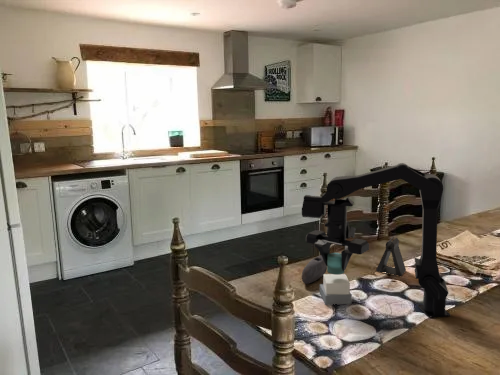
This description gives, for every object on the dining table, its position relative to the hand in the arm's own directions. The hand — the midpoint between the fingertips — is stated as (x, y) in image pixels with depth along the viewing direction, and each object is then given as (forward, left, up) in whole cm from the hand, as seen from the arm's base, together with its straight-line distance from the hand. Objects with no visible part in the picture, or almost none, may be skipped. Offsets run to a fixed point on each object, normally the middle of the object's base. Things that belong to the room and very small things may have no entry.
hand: (335, 268), depth 123 cm
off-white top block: (0, 0, -7) cm, 7 cm away
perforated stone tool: (+15, +4, -10) cm, 18 cm away
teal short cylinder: (0, 0, -1) cm, 1 cm away
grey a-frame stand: (+19, -26, -10) cm, 34 cm away
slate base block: (0, 0, -11) cm, 11 cm away
